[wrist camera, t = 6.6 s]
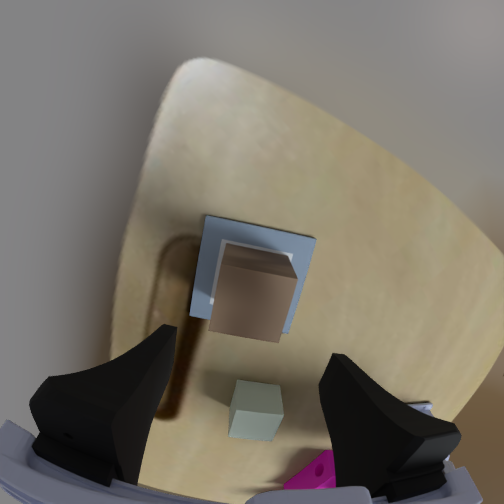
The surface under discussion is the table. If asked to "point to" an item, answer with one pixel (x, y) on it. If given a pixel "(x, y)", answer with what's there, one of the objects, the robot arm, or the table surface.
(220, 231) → the pad
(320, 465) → the toy block
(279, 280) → the walnut cube
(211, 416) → the table surface
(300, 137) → the table surface
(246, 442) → the table surface
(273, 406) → the sage cube
